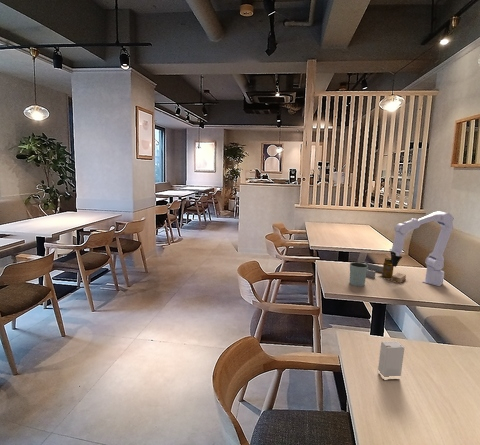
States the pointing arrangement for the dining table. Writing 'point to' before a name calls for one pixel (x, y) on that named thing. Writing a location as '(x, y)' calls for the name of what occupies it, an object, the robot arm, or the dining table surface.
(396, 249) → the robot arm
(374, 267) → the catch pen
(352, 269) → the green tapered cup
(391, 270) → the condiment
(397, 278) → the tan rectangular block
